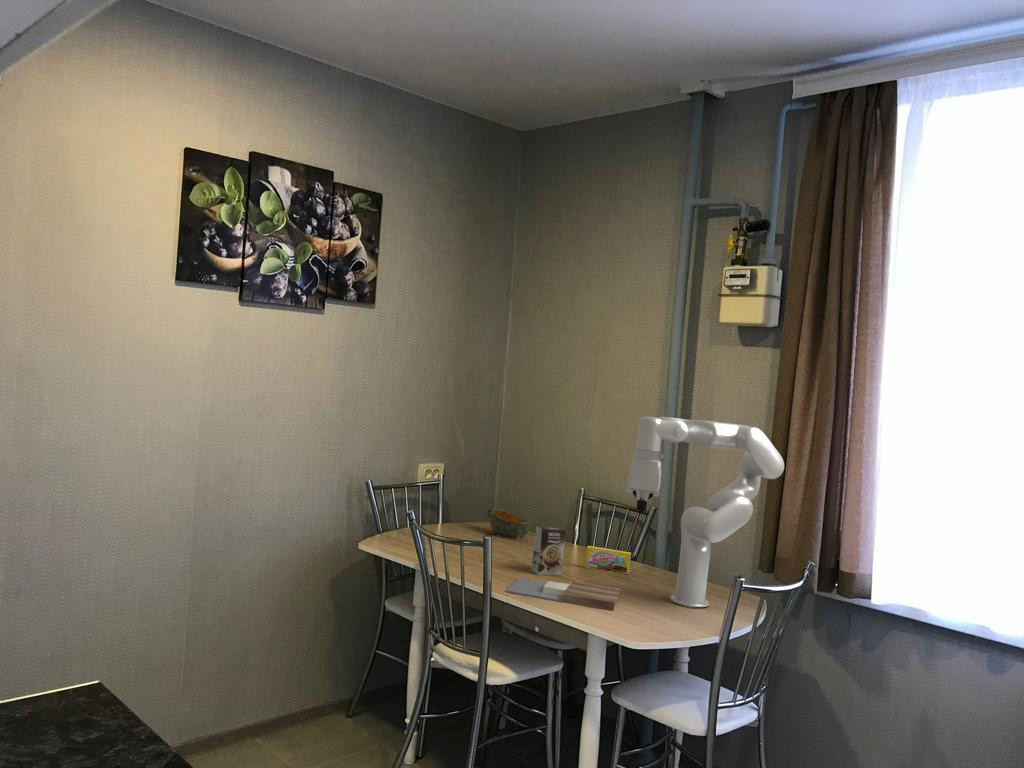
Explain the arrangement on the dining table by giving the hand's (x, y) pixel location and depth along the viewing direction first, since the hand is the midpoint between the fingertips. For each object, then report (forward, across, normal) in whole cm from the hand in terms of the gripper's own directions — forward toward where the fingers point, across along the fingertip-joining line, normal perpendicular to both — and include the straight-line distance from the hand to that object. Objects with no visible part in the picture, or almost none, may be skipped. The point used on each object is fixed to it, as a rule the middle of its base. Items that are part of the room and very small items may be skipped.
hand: (641, 512), depth 266 cm
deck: (+29, +12, +4) cm, 32 cm away
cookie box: (+29, +32, -20) cm, 48 cm away
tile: (+29, +24, +4) cm, 37 cm away
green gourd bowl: (+29, +60, -72) cm, 98 cm away
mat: (+29, +29, +4) cm, 41 cm away
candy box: (+30, +13, -38) cm, 50 cm away
